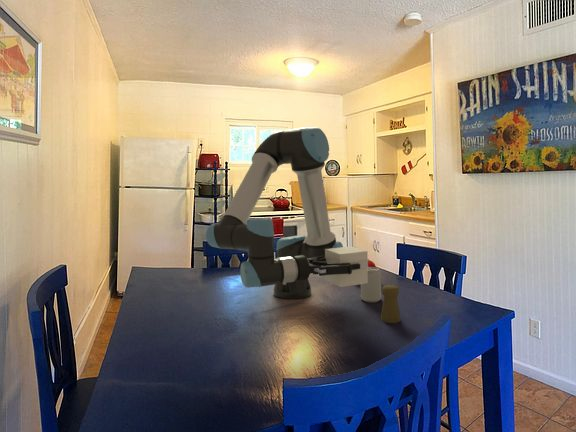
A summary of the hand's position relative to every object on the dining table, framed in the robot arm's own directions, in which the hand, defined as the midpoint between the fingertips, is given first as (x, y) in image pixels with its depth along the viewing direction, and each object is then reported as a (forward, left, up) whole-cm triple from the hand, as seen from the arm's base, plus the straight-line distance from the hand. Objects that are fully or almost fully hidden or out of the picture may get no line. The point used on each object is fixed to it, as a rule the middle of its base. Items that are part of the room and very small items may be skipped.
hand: (357, 261), depth 115 cm
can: (-14, +15, -19) cm, 28 cm away
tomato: (-36, +27, -19) cm, 49 cm away
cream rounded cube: (0, -4, -6) cm, 7 cm away
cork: (+5, +9, -19) cm, 22 cm away
